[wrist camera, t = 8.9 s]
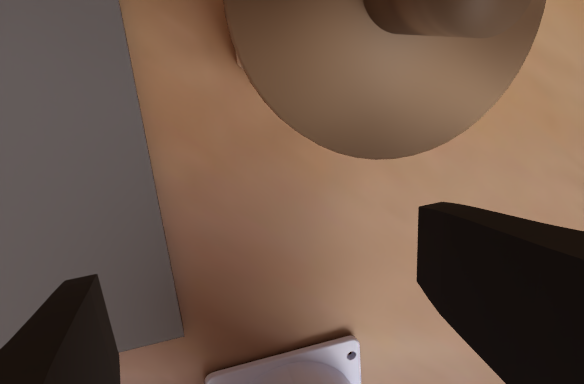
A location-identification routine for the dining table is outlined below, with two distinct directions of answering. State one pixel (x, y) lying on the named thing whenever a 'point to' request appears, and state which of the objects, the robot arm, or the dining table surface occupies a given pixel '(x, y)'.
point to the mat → (78, 171)
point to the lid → (382, 66)
